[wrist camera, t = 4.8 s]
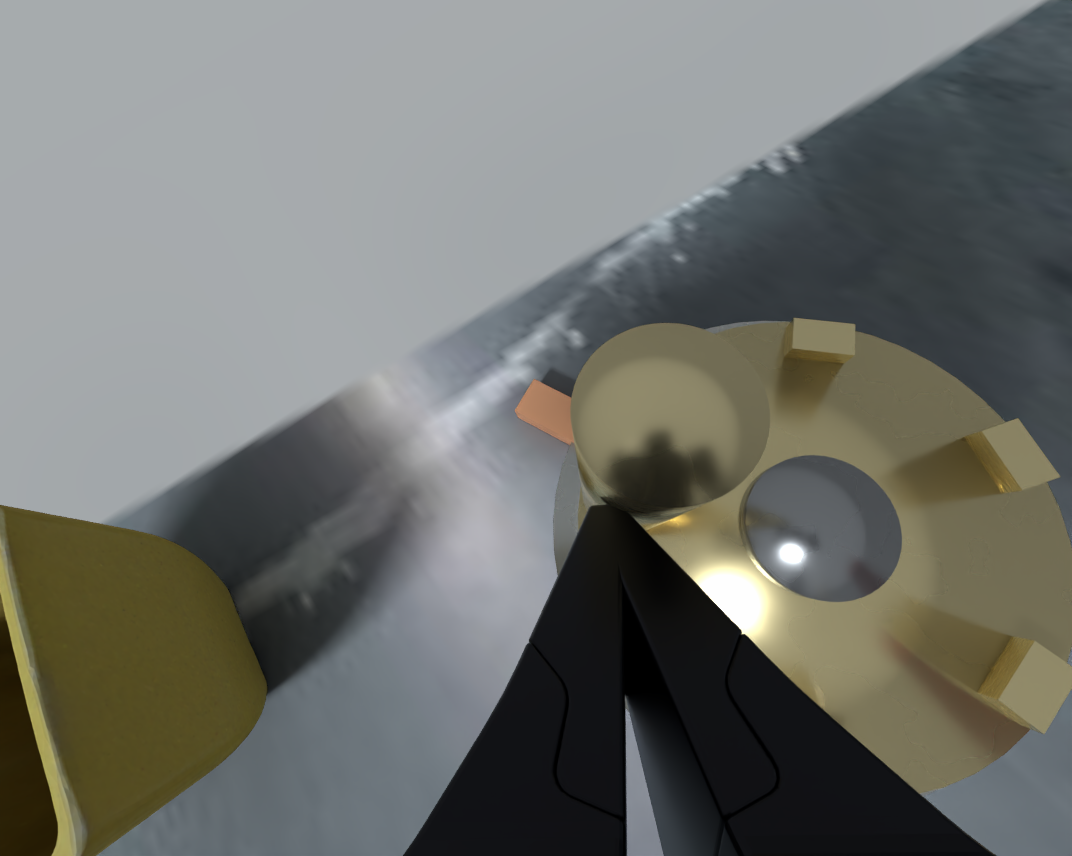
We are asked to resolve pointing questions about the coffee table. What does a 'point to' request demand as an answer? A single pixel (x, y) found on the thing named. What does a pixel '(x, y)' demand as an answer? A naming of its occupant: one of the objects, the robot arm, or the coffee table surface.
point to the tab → (547, 411)
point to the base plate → (792, 524)
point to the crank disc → (910, 483)
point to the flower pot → (110, 680)
